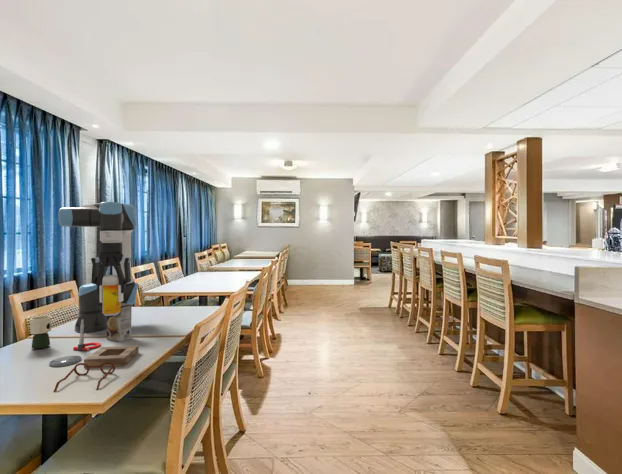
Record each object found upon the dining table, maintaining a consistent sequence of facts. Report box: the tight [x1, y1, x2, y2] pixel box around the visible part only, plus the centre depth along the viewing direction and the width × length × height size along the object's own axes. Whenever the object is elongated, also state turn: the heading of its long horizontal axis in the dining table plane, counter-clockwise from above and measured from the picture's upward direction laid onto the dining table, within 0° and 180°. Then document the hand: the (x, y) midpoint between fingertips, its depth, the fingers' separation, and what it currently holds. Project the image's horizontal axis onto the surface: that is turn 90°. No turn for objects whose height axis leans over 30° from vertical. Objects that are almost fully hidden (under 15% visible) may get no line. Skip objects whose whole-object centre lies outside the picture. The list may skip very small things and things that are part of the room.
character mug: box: [29, 315, 52, 349], centre depth 148 cm, size 11×7×13 cm, turn 31°
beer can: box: [102, 274, 121, 316], centre depth 133 cm, size 6×6×15 cm
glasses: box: [53, 362, 116, 393], centre depth 114 cm, size 13×13×5 cm
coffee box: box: [106, 303, 133, 342], centre depth 160 cm, size 9×6×16 cm
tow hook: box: [72, 319, 102, 352], centre depth 149 cm, size 8×13×9 cm
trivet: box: [48, 355, 82, 368], centre depth 132 cm, size 10×10×1 cm
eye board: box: [83, 345, 140, 369], centre depth 134 cm, size 14×14×3 cm
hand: (111, 301), depth 134 cm, fingers closed on beer can, 6 cm apart
